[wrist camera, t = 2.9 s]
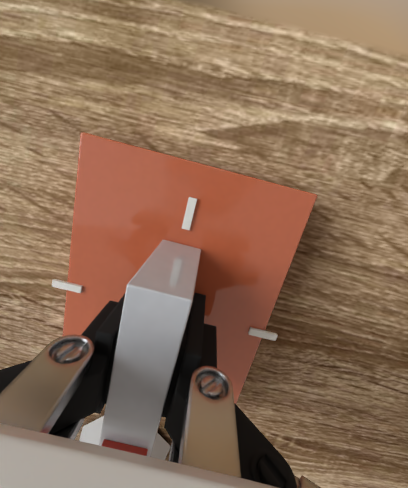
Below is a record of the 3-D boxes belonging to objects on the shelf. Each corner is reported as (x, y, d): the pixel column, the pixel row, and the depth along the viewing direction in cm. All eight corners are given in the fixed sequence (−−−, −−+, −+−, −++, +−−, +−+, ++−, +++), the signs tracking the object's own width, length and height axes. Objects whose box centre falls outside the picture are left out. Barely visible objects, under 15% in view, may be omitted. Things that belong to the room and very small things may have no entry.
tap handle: (162, 238, 10) (122, 288, 6) (201, 248, 10) (192, 306, 6) (136, 361, 12) (92, 469, 8) (169, 369, 12) (144, 481, 8)
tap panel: (100, 138, 12) (62, 126, 9) (305, 193, 13) (334, 199, 9) (76, 351, 16) (44, 392, 13) (232, 388, 17) (236, 436, 13)
